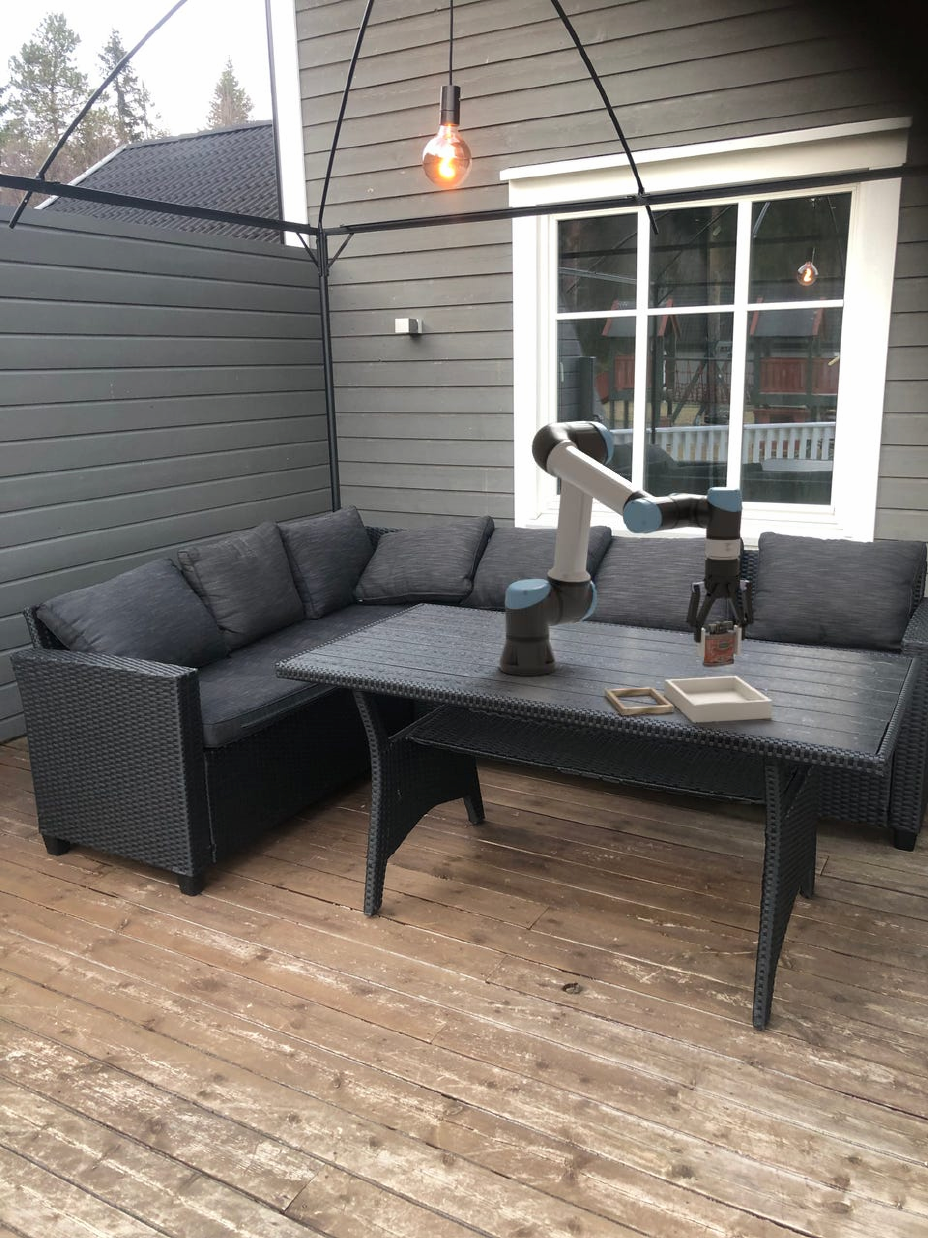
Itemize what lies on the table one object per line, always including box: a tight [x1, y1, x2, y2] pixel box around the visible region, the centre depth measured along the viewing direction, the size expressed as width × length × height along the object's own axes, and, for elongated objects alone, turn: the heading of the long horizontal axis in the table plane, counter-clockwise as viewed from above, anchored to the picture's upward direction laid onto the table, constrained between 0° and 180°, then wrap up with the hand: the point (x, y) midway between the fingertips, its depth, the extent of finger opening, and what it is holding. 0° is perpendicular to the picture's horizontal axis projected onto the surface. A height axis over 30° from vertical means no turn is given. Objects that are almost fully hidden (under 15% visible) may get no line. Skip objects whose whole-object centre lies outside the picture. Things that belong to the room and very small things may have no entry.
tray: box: [663, 675, 773, 724], centre depth 224 cm, size 18×20×4 cm
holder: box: [604, 686, 675, 716], centre depth 227 cm, size 12×15×2 cm
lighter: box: [702, 620, 735, 668], centre depth 221 cm, size 8×3×10 cm, turn 113°
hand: (718, 654), depth 222 cm, fingers closed on lighter, 8 cm apart
